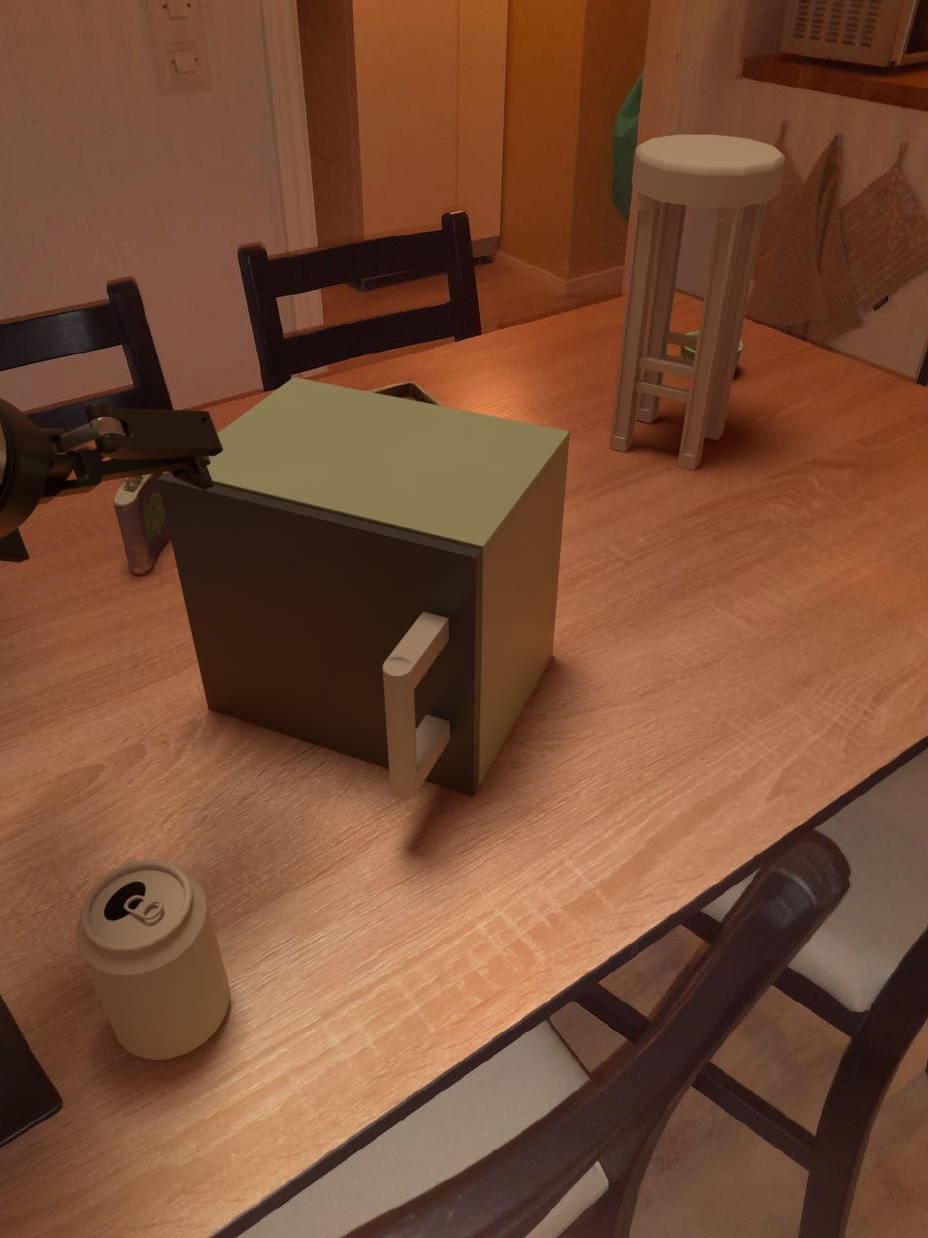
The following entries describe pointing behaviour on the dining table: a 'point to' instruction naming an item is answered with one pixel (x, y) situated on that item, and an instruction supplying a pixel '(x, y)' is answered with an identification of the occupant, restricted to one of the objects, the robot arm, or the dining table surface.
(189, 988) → the can
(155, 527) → the flask
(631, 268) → the stool
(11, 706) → the dining table surface
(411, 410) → the olive green cabinet
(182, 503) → the cabinet door
